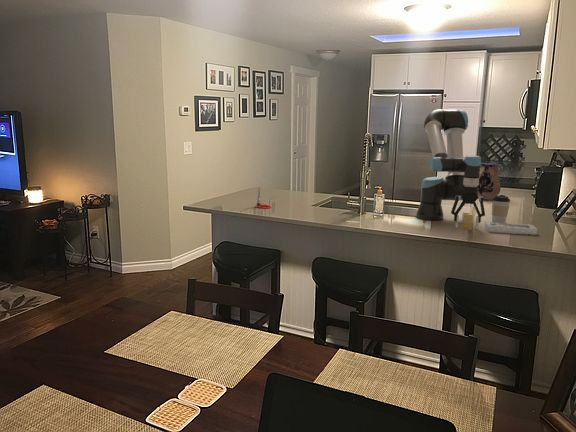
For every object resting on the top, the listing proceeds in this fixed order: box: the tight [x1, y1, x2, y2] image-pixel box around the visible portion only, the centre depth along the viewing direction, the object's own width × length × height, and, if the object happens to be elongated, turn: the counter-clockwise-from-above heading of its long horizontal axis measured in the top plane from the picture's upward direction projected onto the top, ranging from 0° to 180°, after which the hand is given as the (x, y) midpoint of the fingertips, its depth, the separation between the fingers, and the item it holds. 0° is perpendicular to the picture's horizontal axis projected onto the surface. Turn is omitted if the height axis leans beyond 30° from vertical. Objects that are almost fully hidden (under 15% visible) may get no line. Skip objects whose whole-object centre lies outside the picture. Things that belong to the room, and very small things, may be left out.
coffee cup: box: [491, 194, 511, 223], centre depth 267 cm, size 9×9×15 cm
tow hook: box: [254, 186, 272, 210], centre depth 297 cm, size 8×13×9 cm
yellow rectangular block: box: [460, 212, 474, 231], centre depth 252 cm, size 4×4×8 cm
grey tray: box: [484, 221, 538, 236], centre depth 249 cm, size 23×10×3 cm, turn 78°
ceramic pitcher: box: [477, 162, 501, 201], centre depth 340 cm, size 18×21×25 cm
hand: (466, 228), depth 253 cm, fingers open, 9 cm apart
